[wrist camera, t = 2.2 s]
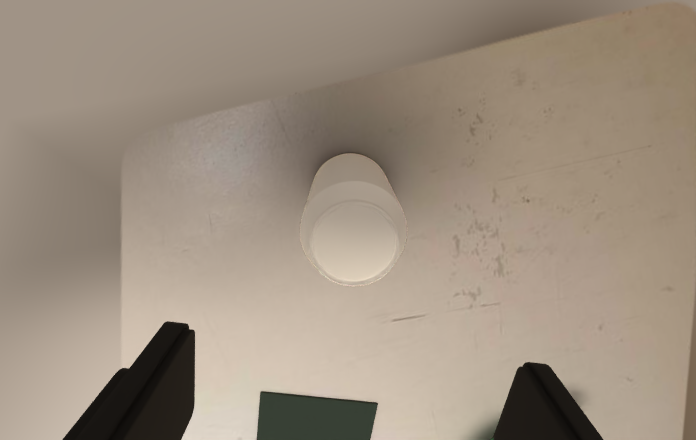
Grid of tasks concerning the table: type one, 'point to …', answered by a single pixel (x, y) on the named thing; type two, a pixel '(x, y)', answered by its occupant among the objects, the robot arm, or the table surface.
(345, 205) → the beverage can
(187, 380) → the robot arm
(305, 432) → the mat
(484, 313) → the table surface
